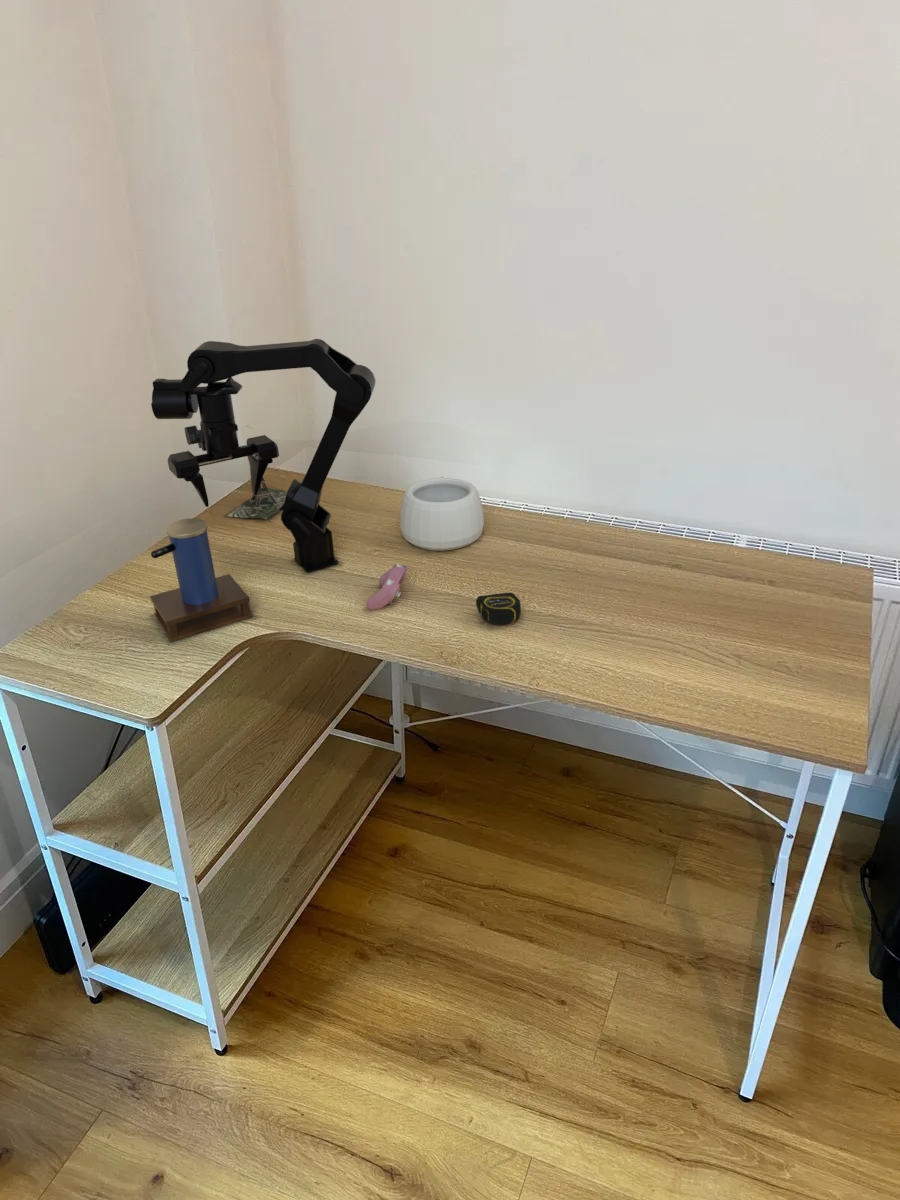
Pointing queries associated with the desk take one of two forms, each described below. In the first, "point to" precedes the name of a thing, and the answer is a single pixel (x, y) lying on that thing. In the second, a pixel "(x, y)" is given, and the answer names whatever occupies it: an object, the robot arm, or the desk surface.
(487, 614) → the tape measure
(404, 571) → the video game controller
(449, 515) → the white round bowl
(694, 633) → the desk surface
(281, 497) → the eiffel tower figurine
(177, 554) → the blue cylinder
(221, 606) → the rack
